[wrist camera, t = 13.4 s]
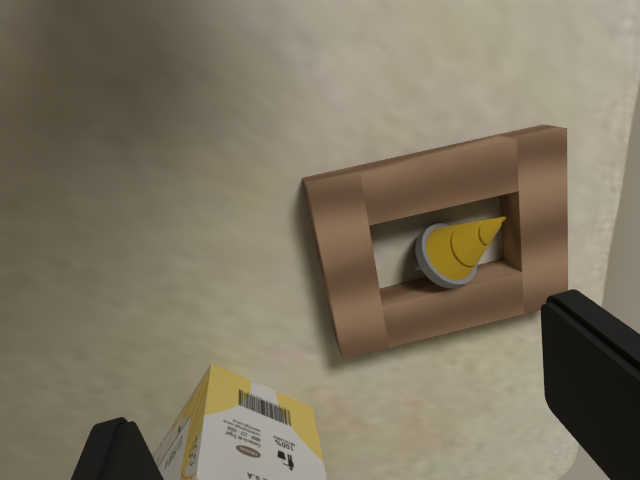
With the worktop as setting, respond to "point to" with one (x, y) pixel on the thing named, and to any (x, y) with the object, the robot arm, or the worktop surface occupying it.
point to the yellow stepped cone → (454, 250)
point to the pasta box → (240, 434)
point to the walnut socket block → (433, 194)
